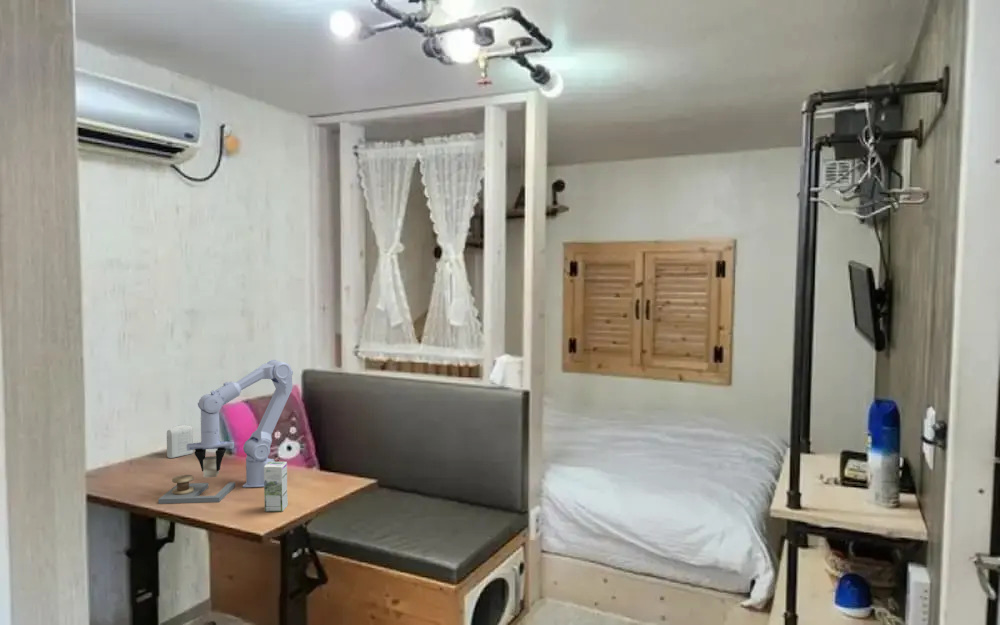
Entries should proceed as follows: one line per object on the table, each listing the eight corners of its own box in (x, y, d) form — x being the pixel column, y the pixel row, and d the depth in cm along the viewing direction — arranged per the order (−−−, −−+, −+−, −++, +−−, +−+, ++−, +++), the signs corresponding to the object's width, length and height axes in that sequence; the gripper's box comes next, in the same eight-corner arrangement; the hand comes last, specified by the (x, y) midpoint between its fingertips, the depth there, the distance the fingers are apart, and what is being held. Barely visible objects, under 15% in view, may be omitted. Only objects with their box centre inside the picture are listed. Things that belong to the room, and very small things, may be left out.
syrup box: (288, 505, 207) (287, 460, 206) (282, 512, 201) (281, 466, 200) (270, 505, 207) (269, 460, 206) (263, 512, 201) (263, 466, 200)
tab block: (219, 473, 221) (218, 456, 221) (216, 476, 217) (215, 459, 217) (206, 474, 220) (206, 456, 220) (203, 477, 216) (203, 459, 216)
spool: (196, 488, 219) (196, 474, 219) (189, 494, 213) (188, 480, 213) (177, 488, 219) (176, 475, 219) (169, 495, 212) (168, 481, 212)
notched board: (235, 486, 226) (235, 482, 226) (219, 502, 210) (219, 497, 210) (178, 487, 224) (178, 483, 224) (158, 503, 209) (158, 499, 208)
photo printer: (189, 452, 271) (188, 422, 271) (195, 453, 269) (194, 424, 268) (165, 457, 263) (164, 427, 262) (171, 459, 260) (170, 428, 260)
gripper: (235, 426, 223) (236, 465, 224) (190, 428, 220) (191, 468, 221) (231, 431, 216) (231, 471, 217) (184, 433, 213) (185, 474, 214)
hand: (211, 470), depth 218 cm, fingers closed on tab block, 4 cm apart
